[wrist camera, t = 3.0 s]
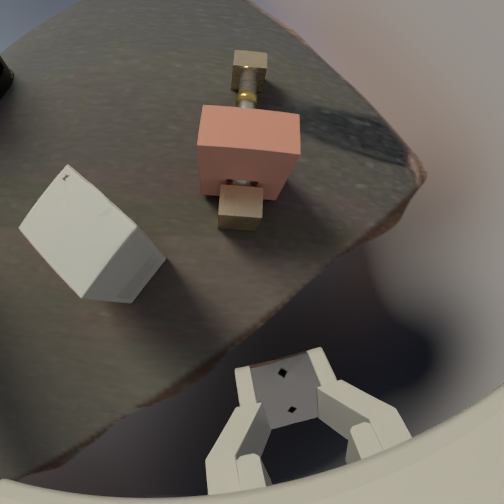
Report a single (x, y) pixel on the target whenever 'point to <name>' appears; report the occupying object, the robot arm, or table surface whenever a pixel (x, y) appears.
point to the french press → (5, 77)
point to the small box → (90, 241)
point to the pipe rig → (240, 191)
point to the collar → (247, 148)
